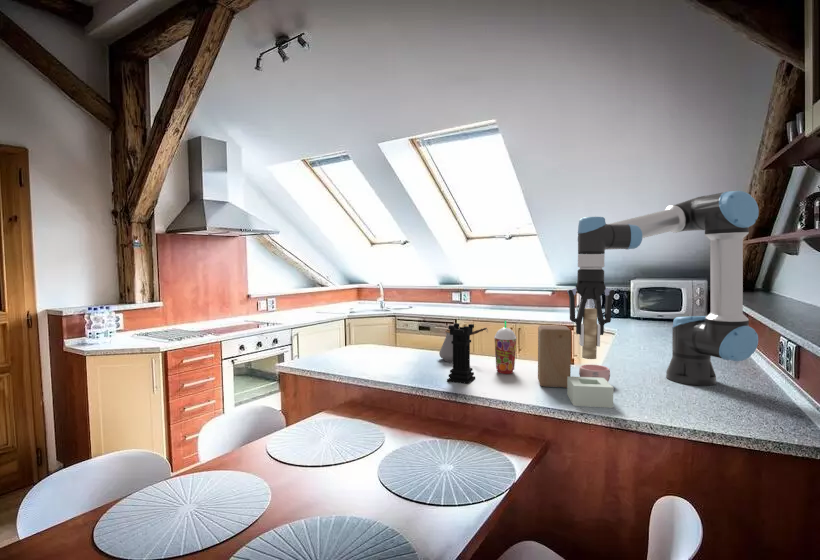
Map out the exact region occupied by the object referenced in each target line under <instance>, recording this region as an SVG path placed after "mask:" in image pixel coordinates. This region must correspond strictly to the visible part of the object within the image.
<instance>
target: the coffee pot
mask: <svg viewBox="0 0 820 560" xmlns="http://www.w3.org/2000/svg"><path fill="white" fill-rule="evenodd" d="M483 331H486V332H487V333H488V332H489V330H488V328H487V327H483V328H480V329H477V330H476V329H475V330H473V333H472V334H470V336H473V335H475V334H478V333H480V332H483ZM444 333H446V334H445V335H446V336H445V338H444V340H443V343H442V345H441V348H440V351H439V357H440V358H441V359H442V360H443V361H444V362H448V363H453V344H451V341H453V335H450V329H445V330H444Z"/></svg>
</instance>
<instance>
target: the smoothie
mask: <svg viewBox="0 0 820 560" xmlns="http://www.w3.org/2000/svg"><path fill="white" fill-rule="evenodd" d="M516 349H517V336H516V334H515V332H514V331H513V330H512V329H511V328H509V327H507V320H504V327H502V328H500V329H498V330H497V331H496V333H495V335H494V350H495V351H494V353H495V368H496V371H497V372H498V373H499V374H503V375H510V374H513V373H514V370H515V366H516V365H515V363H516V351H517V350H516Z"/></svg>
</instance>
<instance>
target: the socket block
mask: <svg viewBox="0 0 820 560" xmlns="http://www.w3.org/2000/svg"><path fill="white" fill-rule="evenodd" d="M566 391H567V393H566V395H567V397H568V399H569V400H570V402H571V404H572V405H573V407H586V408H587V407H588V408H590V407H591V408H605V409H606V408H609V409H613V408H614V386H613V385H612V384H611V383H609V381H607V380H606V379H605V378H596V377H580V376H572V375H570V376H567V388H566Z"/></svg>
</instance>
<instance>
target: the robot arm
mask: <svg viewBox="0 0 820 560" xmlns="http://www.w3.org/2000/svg"><path fill="white" fill-rule="evenodd" d="M759 213H760V212H759V206H758V203H757V200H756V199H755V198H754V197H752V195H751V194H750V193H748V192H746V191H743V190H734V191H733V190H729V191H724V192H718V193H712V194H708V195H700V196H696V197H695V198H691V199H688V200H686V201H682V202H680V203H676V204H672V205H668V206H667V207H666V208H665V209H664V210H660V211H656V212H652V213H648V214H644V215H639V216H635V217H631V218H629V219H628V218H626V219H623V220H620V221H615V222H611V223H606V217H603V216H585V217H581V218H580V219H579V220H578V227H577V267H578V268H579V269H578V270H577V276H576V277H577V281H576V285H575V286H574V287H573V288H571V289H569V288H568V289H567V290H566V292H567V295H568V299H569V301H568V302H569V303H568V304H569V308H568V309H569V321H571V322H573V323H575V333H576V334H577V335H578V336H579V338H578V339H579V341H578V344H579V346H580V347H582V346H584V324H583V314H584V310H585V308H586V306H587V302H588V300H592V301H593V303H594V306H595V307H594V308H596V309H597V347H601V336H603V335H605V334H604V333H605V331H604V330H605V327H604V326H605V324H607V323H611V320H612V309H613V308H612V306H613V297H614V294H615V290H614V289H610V288H607V287H606V284H605V269H603V268H605V258H606V257H605V255H606V253H605V251H606V250H607V251H608V250H634V249H637V248H639V247H640V246H641V243H642V241H643V239H645V238H649V237H653V236H657V235H661V234H665V233H670V232H671V233H673V234H674V233H675V234H676V233H680V232H688V231H704V236H705V237H706V238H707V239H708V240H709V241H710V242H709V243H710V246H709V247H710V249H709V250H710V252H709V253H710V255H709V256H710V257H709V258H710V268H709V269H710V312H709V313H708V314H707V315H690V316H685V315H684V316H676V317H675V318H673V323H672V327H671V328H672V330H671V331H672V333H671V334H672V335H671V336H672V342H671V344H672V345H671V348H672V351H671V353H672V356H671V359H670V361H669V364H668V366H667V369H666V371H665V372H666V373H665V375H666V379H668V380H669V381H672V382H675V383H678V384H679V383H680V384H684V385H692V386H713V385H716V383H717V375H716V373H715V370H714V366H713V364H712V360H711V359H712V358H711V357H715V358H718V359H722V360H724V361H732V362H743V361H746V360H748V359H749V358H751V356H752V355H753V354H755V352H756V350H757V347H758V345H759V334H758V333H757V332H756V330H755V328H753V327H751V326H750V325H749V322H750V321H749V320H750V319H749V318H748V317H747V316H746V315H745V314H744V313H743V312H744V311H743V310H744V309H743V308H744V307H743V305H744V304H743V303H744V301H743V299H744V298H743V297H744V292H743V291H744V287H743V285H744V283H743V282H744V280H743V279H744V278H743V277H744V276H743V273H744V271H743V270H744V269H743V268H744V267H743V266H744V264H743V262H744V259H743V258H744V257H743V254H744V252H743V251H744V250H743V249H744V241H743V240H744V238H745V237H746V236H747V235H749V234H750V233H749V231H750V227H752V226H753V225H755V224H756V221H757V220H758V217H759ZM576 292H577V293H578V294H579V296H580V301H579V304H578V305H579V306H578V310H577V315H576V297H575V296H576V295H577V293H576ZM603 293H604V295H605V302H604V303H605V304H604V307H605V308H604V314H603V309H602V303H601V296H602V295H603Z"/></svg>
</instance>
